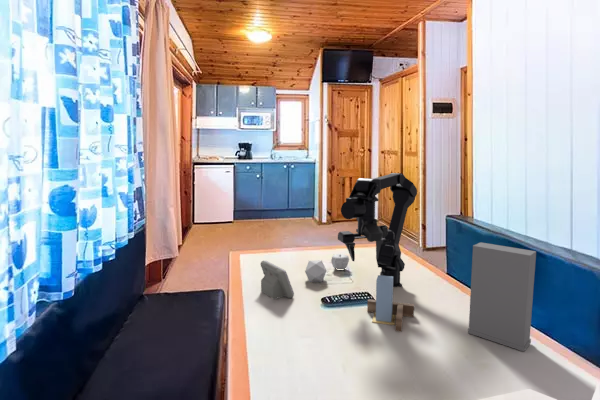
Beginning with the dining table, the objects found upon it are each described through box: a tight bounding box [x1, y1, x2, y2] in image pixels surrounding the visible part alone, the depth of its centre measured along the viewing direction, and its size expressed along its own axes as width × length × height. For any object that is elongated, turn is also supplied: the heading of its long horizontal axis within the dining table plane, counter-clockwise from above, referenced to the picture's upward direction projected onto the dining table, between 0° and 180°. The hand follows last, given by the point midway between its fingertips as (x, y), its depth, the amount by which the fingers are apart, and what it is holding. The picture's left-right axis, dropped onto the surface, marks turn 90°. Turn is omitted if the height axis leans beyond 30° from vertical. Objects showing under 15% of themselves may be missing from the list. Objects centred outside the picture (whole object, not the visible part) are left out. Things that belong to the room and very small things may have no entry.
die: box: [304, 260, 327, 283], centre depth 146 cm, size 8×9×10 cm
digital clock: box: [260, 260, 295, 300], centre depth 134 cm, size 16×9×11 cm, turn 22°
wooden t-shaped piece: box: [366, 298, 415, 333], centre depth 112 cm, size 12×14×4 cm
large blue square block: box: [375, 274, 394, 322], centre depth 112 cm, size 4×4×12 cm
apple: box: [330, 253, 350, 270], centre depth 160 cm, size 8×8×7 cm
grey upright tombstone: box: [467, 241, 537, 352], centre depth 99 cm, size 14×6×25 cm, turn 44°
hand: (365, 260), depth 129 cm, fingers open, 9 cm apart
